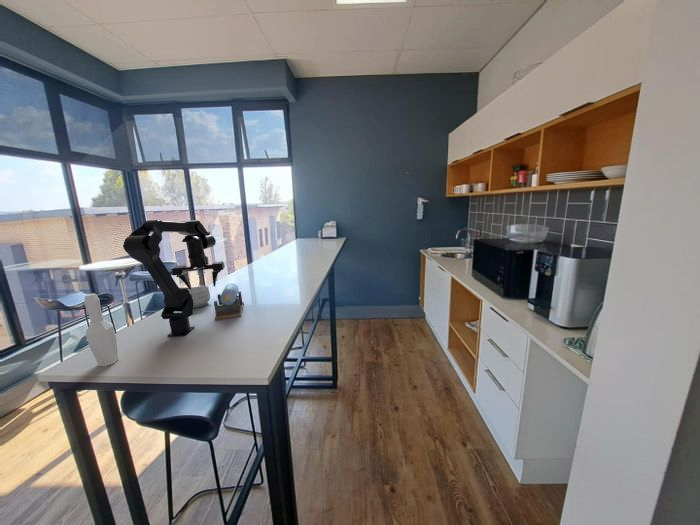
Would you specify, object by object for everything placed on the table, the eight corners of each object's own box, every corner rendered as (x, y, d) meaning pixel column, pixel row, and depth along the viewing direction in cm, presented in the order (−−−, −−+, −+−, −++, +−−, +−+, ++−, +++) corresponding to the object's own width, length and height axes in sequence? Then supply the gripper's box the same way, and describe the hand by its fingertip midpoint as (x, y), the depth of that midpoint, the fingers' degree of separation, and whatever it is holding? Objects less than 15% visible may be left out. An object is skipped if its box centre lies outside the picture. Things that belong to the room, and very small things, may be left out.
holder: (240, 316, 114) (238, 300, 112) (214, 320, 111) (211, 304, 109) (243, 303, 129) (241, 289, 127) (220, 306, 126) (218, 292, 124)
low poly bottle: (125, 354, 88) (108, 289, 83) (117, 364, 83) (98, 296, 78) (100, 359, 86) (81, 293, 81) (91, 370, 80) (70, 300, 75)
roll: (234, 306, 114) (237, 292, 113) (218, 304, 112) (221, 290, 111) (237, 296, 125) (239, 284, 125) (223, 294, 123) (225, 282, 123)
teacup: (203, 309, 124) (200, 292, 122) (180, 310, 125) (177, 293, 123) (218, 298, 138) (216, 283, 136) (197, 299, 138) (194, 284, 136)
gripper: (223, 246, 122) (229, 280, 125) (176, 250, 117) (183, 285, 120) (219, 250, 111) (225, 286, 115) (167, 255, 106) (175, 293, 110)
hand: (202, 287), depth 115 cm, fingers open, 9 cm apart
